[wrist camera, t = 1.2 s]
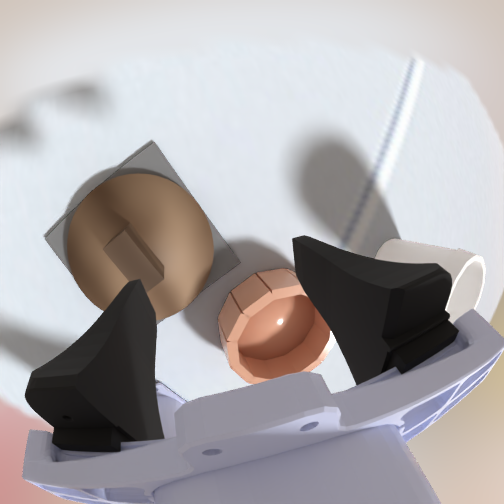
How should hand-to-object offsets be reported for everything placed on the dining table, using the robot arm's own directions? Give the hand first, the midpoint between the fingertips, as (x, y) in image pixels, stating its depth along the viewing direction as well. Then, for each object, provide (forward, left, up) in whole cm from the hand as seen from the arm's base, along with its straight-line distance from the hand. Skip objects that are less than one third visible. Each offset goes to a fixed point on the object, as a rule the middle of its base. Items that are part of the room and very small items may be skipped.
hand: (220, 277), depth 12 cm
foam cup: (+17, -19, -14) cm, 29 cm away
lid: (-6, +1, -13) cm, 15 cm away
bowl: (0, -14, -14) cm, 19 cm away
